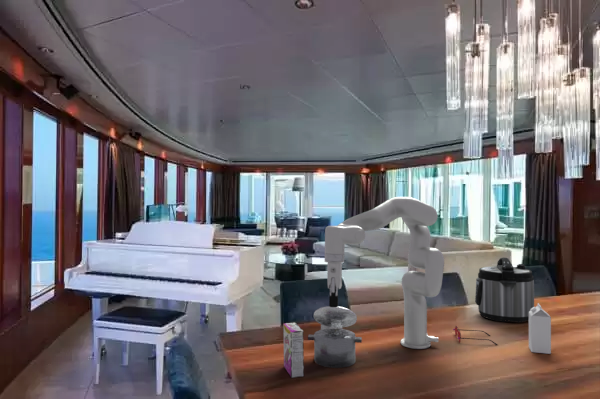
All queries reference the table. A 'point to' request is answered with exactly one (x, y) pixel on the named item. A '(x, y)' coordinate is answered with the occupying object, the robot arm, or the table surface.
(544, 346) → the milk carton
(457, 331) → the glasses
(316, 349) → the pot
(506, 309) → the pressure cooker
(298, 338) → the candy bar box
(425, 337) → the robot arm
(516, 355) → the table surface
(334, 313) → the lid
